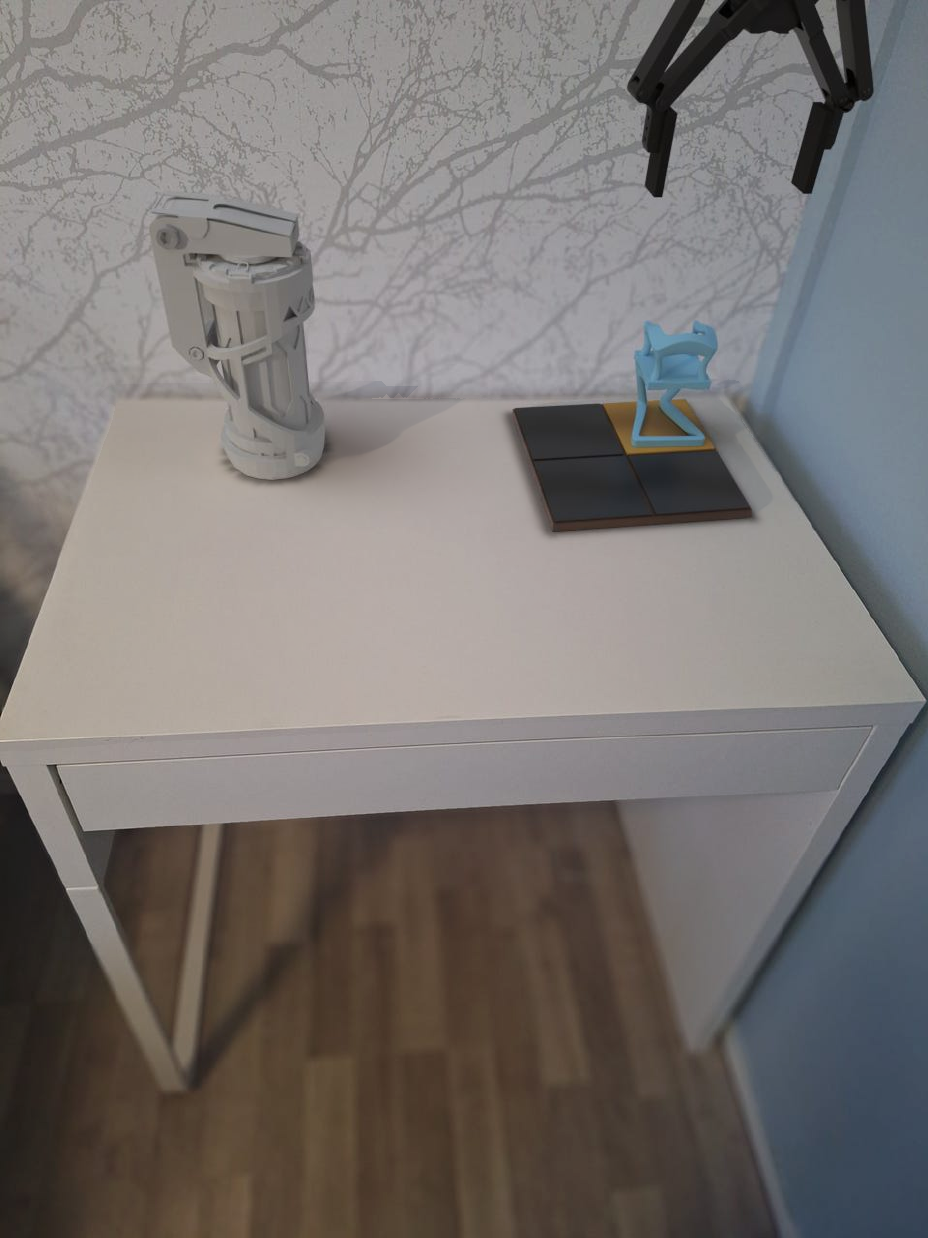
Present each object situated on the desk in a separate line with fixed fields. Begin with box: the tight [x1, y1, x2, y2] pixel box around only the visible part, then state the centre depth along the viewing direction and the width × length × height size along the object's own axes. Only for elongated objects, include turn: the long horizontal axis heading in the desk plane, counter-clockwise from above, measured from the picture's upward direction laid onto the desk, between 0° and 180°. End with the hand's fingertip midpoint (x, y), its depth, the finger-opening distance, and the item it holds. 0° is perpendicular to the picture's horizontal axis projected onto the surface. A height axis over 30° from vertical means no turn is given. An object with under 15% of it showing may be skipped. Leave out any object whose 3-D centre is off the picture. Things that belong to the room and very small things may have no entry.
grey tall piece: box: [148, 189, 326, 481], centre depth 86 cm, size 13×10×25 cm
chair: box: [631, 320, 719, 447], centre depth 95 cm, size 8×8×12 cm
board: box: [511, 398, 753, 532], centre depth 96 cm, size 20×20×1 cm
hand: (727, 190), depth 80 cm, fingers open, 13 cm apart
